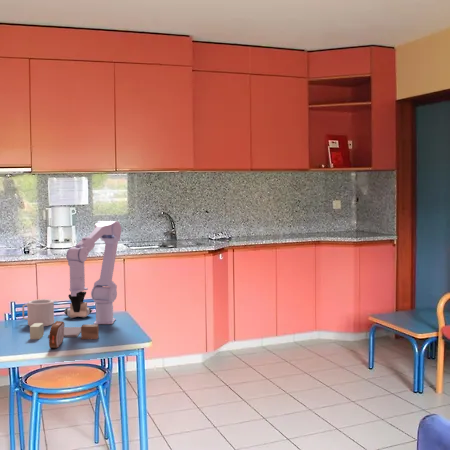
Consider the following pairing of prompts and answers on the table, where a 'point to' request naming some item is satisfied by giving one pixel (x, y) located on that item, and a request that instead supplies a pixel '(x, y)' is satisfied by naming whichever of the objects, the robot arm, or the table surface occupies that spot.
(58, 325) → the tin
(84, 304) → the tan block
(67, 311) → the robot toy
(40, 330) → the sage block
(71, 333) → the slate plate
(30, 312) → the mug
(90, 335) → the walnut block
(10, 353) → the table surface
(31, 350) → the table surface
